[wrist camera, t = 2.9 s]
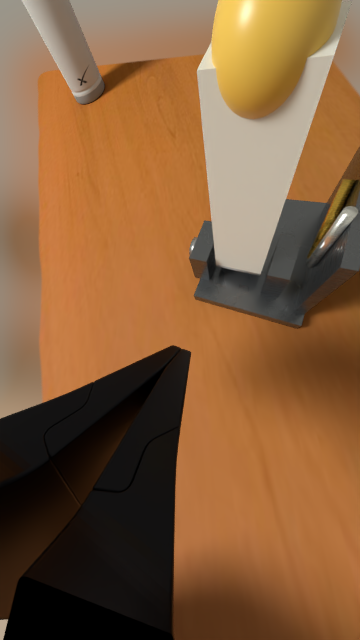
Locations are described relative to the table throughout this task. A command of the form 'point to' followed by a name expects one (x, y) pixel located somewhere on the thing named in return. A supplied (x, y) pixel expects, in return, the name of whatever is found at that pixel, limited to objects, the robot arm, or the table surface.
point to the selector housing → (290, 258)
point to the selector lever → (260, 113)
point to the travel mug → (67, 47)
